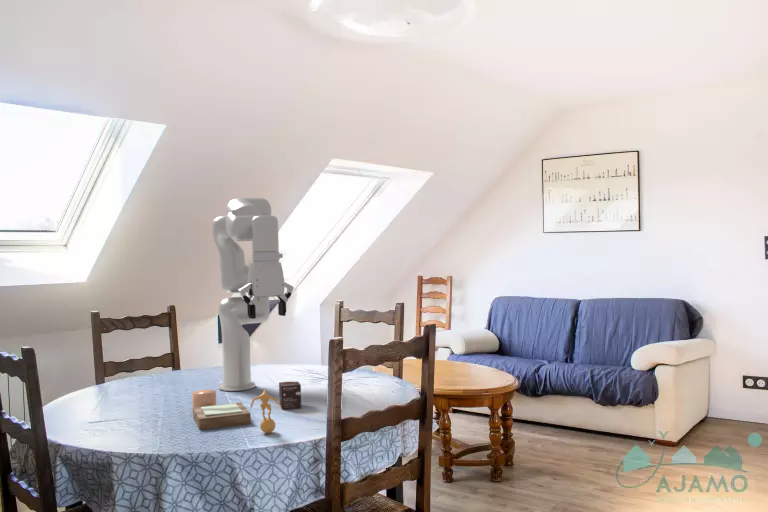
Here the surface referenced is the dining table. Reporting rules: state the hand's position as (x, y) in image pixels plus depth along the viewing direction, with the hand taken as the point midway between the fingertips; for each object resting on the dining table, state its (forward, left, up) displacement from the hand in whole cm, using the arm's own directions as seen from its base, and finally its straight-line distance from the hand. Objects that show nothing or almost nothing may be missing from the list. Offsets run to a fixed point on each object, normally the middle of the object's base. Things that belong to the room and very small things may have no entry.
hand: (267, 316), depth 201 cm
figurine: (+17, -5, -29) cm, 34 cm away
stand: (-2, -14, -29) cm, 32 cm away
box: (-9, +8, -30) cm, 32 cm away
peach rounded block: (-15, -17, -29) cm, 37 cm away
